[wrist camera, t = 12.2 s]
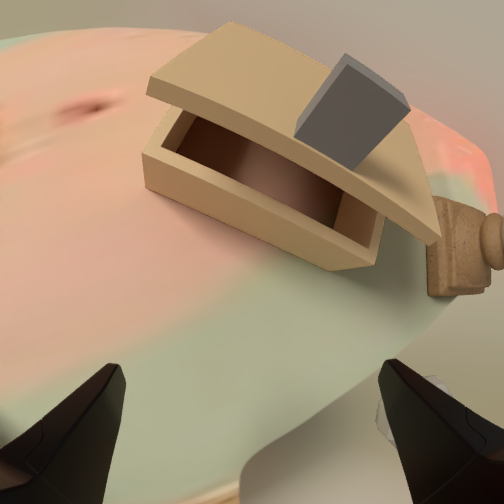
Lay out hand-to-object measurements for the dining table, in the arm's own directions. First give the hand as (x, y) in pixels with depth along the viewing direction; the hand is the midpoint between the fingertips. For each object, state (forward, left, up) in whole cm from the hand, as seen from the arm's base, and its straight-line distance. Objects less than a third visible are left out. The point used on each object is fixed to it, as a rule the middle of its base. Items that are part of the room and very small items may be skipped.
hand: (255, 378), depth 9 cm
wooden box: (+11, -9, -13) cm, 19 cm away
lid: (+11, -9, -4) cm, 15 cm away
